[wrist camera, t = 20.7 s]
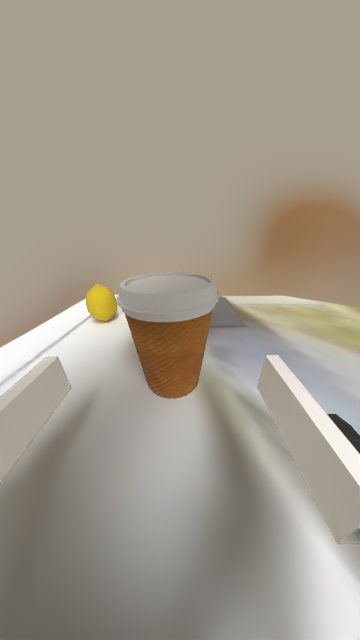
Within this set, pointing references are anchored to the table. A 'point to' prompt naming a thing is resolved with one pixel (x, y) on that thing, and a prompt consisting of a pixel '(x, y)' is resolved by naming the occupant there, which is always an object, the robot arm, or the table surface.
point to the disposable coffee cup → (169, 326)
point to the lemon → (101, 302)
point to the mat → (224, 315)
